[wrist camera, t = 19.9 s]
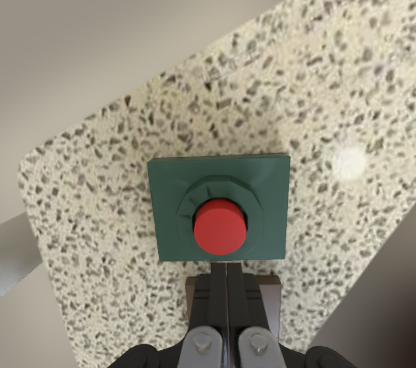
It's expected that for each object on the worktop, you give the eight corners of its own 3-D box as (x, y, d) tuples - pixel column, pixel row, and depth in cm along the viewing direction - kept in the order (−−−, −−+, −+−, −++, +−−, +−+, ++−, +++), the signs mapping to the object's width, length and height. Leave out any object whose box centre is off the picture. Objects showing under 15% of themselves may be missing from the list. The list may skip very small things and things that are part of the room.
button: (197, 242, 18) (195, 255, 16) (194, 199, 17) (192, 209, 15) (243, 241, 18) (246, 254, 16) (243, 198, 17) (246, 207, 15)
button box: (163, 250, 22) (153, 275, 18) (152, 158, 19) (138, 167, 16) (279, 248, 21) (291, 273, 18) (284, 152, 19) (299, 160, 15)
